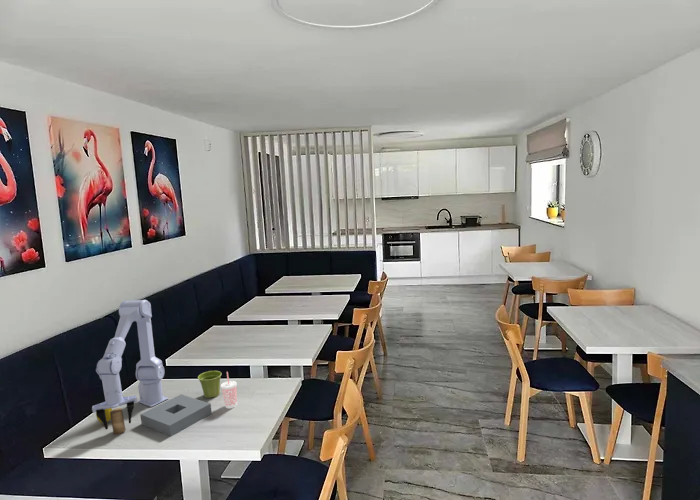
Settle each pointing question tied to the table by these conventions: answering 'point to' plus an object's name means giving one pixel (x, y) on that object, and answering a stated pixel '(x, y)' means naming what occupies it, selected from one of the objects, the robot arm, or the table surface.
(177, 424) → the socket block
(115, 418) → the peg
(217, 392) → the plant pot
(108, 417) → the lemon
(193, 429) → the table surface
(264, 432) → the table surface
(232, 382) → the beverage cup
